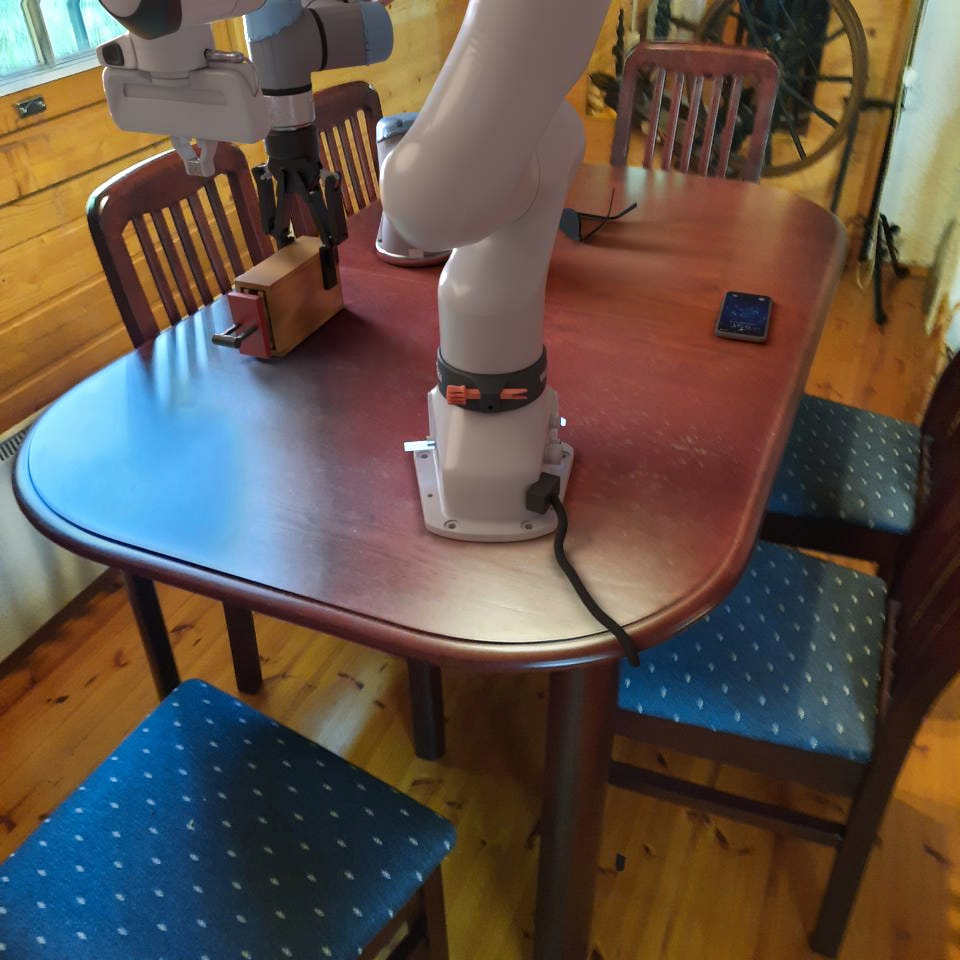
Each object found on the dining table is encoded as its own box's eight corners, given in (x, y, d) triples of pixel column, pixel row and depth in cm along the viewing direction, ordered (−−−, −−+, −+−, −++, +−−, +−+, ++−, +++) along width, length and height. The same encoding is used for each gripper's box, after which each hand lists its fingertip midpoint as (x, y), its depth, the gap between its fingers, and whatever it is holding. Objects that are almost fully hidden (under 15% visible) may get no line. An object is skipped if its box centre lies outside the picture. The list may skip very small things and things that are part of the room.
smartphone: (773, 295, 132) (766, 339, 121) (772, 301, 133) (765, 345, 121) (725, 289, 134) (713, 331, 123) (724, 295, 135) (712, 337, 123)
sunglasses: (646, 234, 156) (649, 207, 153) (572, 244, 153) (574, 217, 150) (609, 205, 169) (611, 179, 166) (540, 214, 166) (541, 188, 163)
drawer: (244, 377, 115) (231, 316, 110) (216, 371, 117) (201, 311, 111) (327, 310, 131) (320, 254, 126) (301, 306, 133) (293, 250, 128)
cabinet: (282, 357, 122) (269, 286, 115) (248, 350, 124) (233, 280, 117) (344, 306, 135) (335, 240, 128) (312, 301, 136) (302, 235, 130)
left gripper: (363, 122, 116) (379, 282, 130) (246, 111, 122) (273, 266, 136) (335, 136, 110) (354, 302, 124) (214, 125, 116) (246, 284, 130)
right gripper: (269, 46, 93) (289, 175, 102) (122, 38, 100) (151, 159, 108) (235, 58, 89) (259, 191, 97) (82, 48, 95) (117, 174, 104)
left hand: (312, 283), depth 130 cm, fingers closed on cabinet, 6 cm apart
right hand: (201, 174), depth 103 cm, fingers closed
